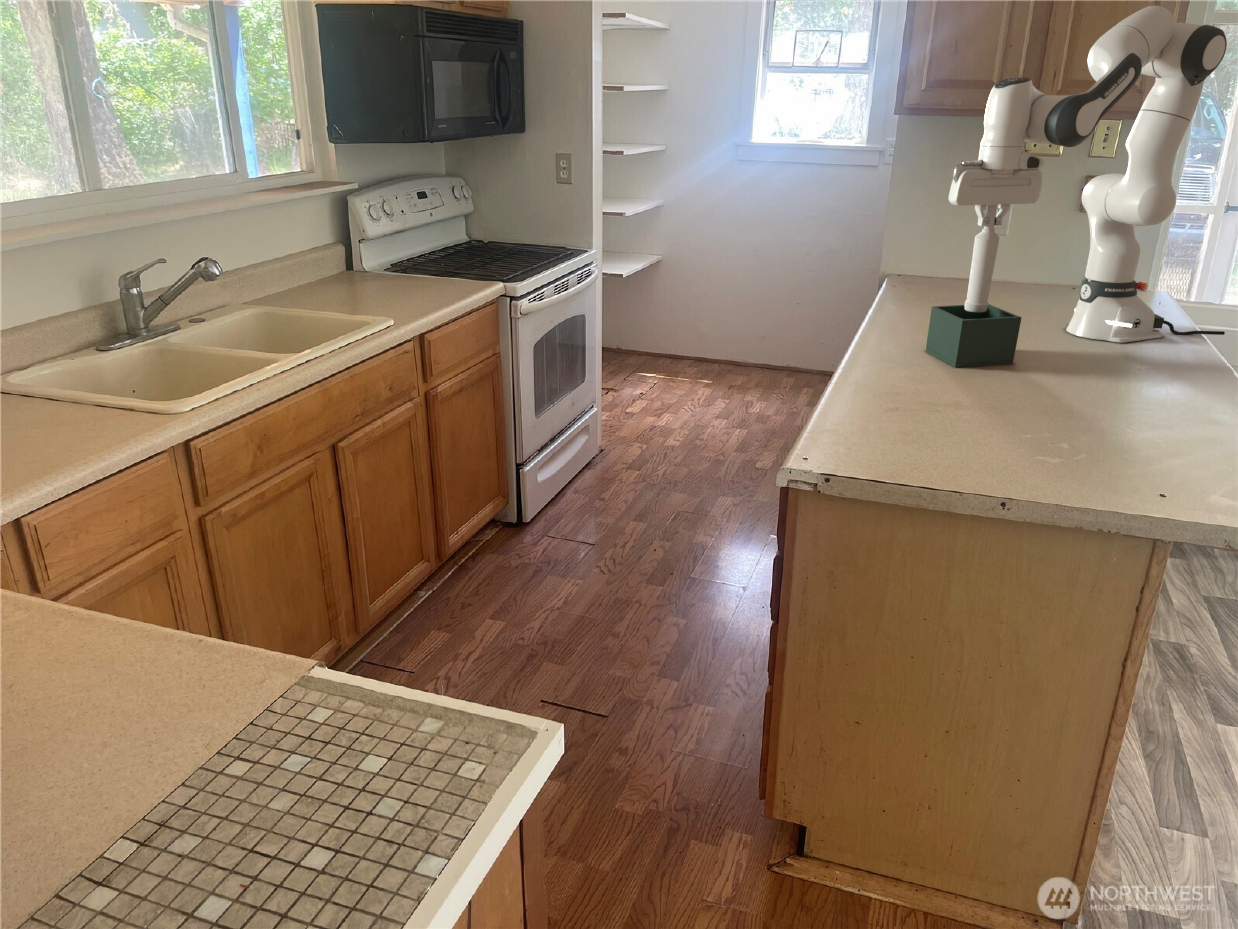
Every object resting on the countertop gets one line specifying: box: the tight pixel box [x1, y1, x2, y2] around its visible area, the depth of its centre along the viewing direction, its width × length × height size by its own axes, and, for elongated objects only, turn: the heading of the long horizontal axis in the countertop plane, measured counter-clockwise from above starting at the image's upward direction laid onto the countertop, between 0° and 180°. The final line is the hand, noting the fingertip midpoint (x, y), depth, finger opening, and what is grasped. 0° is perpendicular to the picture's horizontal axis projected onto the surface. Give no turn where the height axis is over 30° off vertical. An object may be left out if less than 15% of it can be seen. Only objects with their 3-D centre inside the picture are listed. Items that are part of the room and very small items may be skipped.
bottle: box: [964, 205, 1000, 312], centre depth 196 cm, size 5×5×25 cm
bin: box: [925, 303, 1022, 369], centre depth 203 cm, size 15×14×11 cm
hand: (989, 225), depth 194 cm, fingers closed on bottle, 2 cm apart
